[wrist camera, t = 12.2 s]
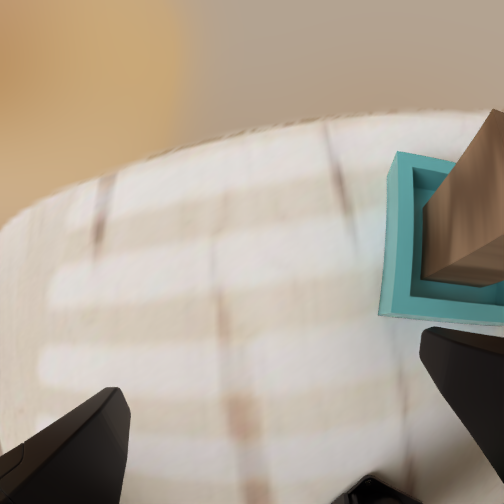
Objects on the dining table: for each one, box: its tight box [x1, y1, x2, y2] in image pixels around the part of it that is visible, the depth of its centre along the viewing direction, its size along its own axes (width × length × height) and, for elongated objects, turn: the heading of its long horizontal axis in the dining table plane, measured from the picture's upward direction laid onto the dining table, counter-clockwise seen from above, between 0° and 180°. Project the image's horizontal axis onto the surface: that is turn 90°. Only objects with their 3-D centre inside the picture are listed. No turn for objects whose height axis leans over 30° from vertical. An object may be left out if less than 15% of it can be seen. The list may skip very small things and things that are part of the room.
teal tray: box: [378, 151, 504, 326], centre depth 16 cm, size 10×10×4 cm
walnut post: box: [420, 109, 504, 288], centre depth 12 cm, size 5×5×11 cm
